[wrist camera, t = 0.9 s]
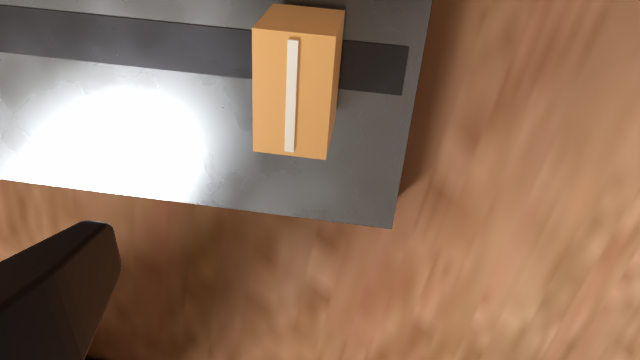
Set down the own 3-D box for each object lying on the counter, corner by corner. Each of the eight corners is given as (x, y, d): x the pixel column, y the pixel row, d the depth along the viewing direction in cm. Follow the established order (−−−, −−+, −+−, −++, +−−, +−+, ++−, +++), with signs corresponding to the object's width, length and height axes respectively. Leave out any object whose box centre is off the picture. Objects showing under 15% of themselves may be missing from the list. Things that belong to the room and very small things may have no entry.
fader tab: (335, 120, 19) (325, 161, 16) (271, 112, 19) (252, 152, 16) (344, 10, 17) (335, 37, 14) (273, 3, 17) (250, 28, 14)
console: (391, 202, 23) (391, 247, 21) (-93, 142, 25) (-152, 176, 22) (455, -164, 16) (467, -170, 13) (-246, -214, 17) (-362, -228, 15)
